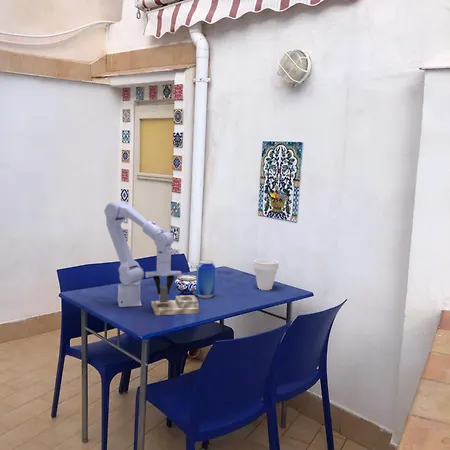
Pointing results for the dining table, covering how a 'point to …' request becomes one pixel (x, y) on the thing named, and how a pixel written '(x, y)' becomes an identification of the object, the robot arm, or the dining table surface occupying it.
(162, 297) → the plug
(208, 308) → the dining table surface
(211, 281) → the beer can
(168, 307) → the beige stepped block
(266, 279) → the cup
